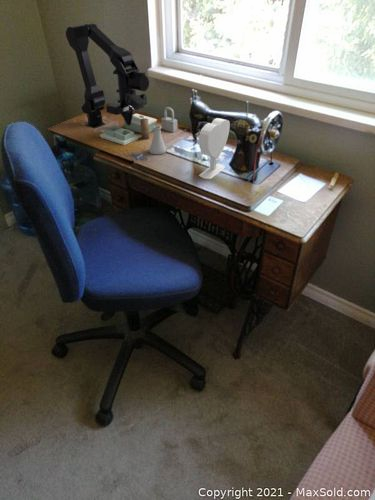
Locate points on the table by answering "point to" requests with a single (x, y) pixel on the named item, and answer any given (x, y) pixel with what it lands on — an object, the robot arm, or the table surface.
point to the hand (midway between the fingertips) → (128, 125)
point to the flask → (157, 142)
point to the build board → (119, 135)
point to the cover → (137, 118)
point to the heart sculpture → (213, 144)
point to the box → (139, 127)
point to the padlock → (169, 121)
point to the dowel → (144, 129)
